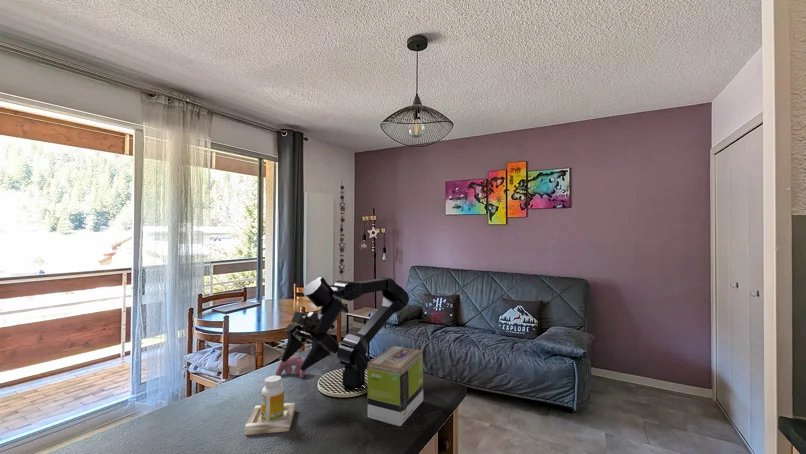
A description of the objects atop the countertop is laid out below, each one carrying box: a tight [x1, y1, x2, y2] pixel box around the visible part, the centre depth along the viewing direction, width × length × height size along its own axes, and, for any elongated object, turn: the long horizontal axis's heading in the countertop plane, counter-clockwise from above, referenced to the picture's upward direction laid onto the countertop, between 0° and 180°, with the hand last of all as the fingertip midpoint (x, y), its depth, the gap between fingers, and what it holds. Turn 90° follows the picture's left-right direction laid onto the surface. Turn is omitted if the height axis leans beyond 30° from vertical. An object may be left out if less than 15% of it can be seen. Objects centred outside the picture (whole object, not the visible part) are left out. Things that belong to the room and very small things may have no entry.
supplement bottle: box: [260, 375, 285, 422], centre depth 85 cm, size 5×5×10 cm
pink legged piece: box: [275, 355, 307, 379], centre depth 114 cm, size 10×5×7 cm, turn 85°
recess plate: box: [244, 402, 296, 436], centre depth 85 cm, size 10×10×2 cm
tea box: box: [366, 345, 424, 427], centre depth 92 cm, size 15×10×15 cm
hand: (291, 365), depth 89 cm, fingers open, 9 cm apart
